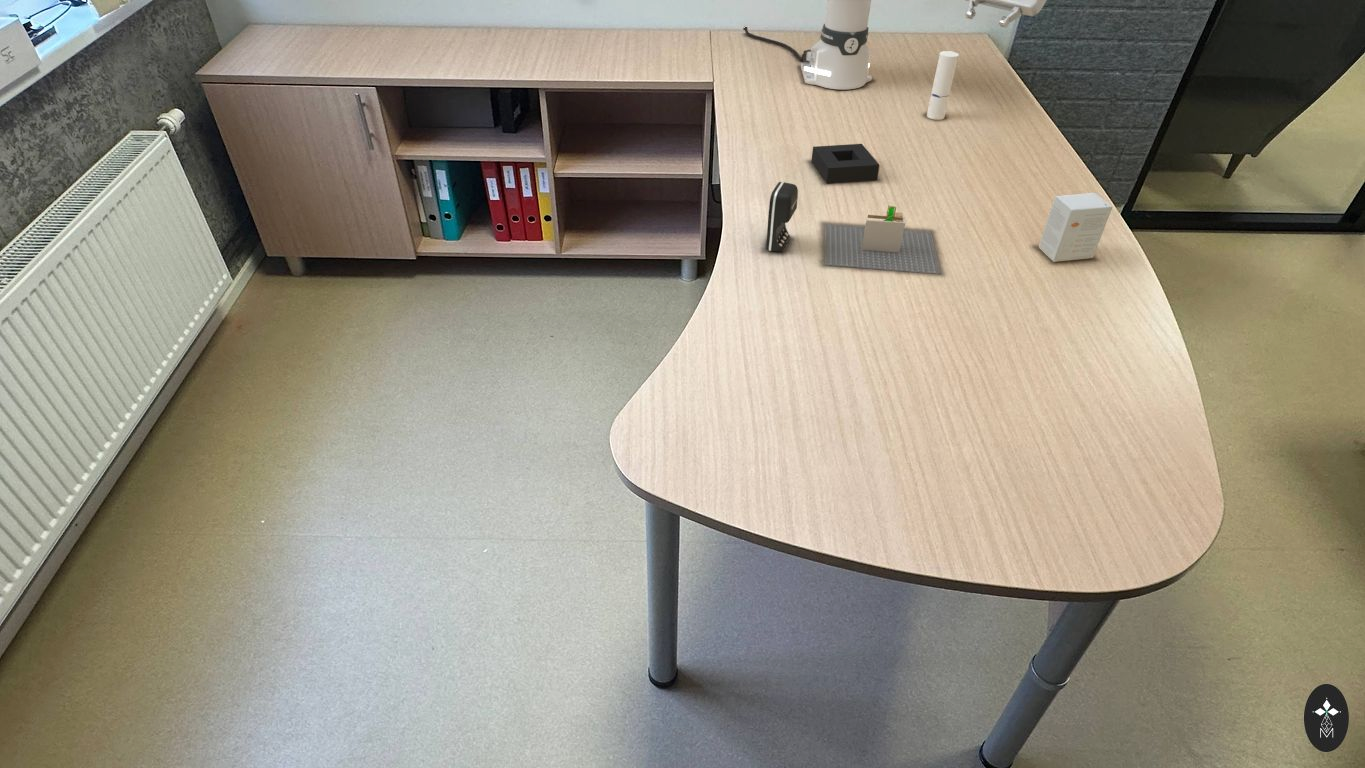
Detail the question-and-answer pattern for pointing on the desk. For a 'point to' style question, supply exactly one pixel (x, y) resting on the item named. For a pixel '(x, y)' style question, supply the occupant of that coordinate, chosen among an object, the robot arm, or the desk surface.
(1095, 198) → the small box
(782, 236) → the black plastic handset
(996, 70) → the desk surface
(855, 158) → the socket pad
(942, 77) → the tube
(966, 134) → the desk surface
